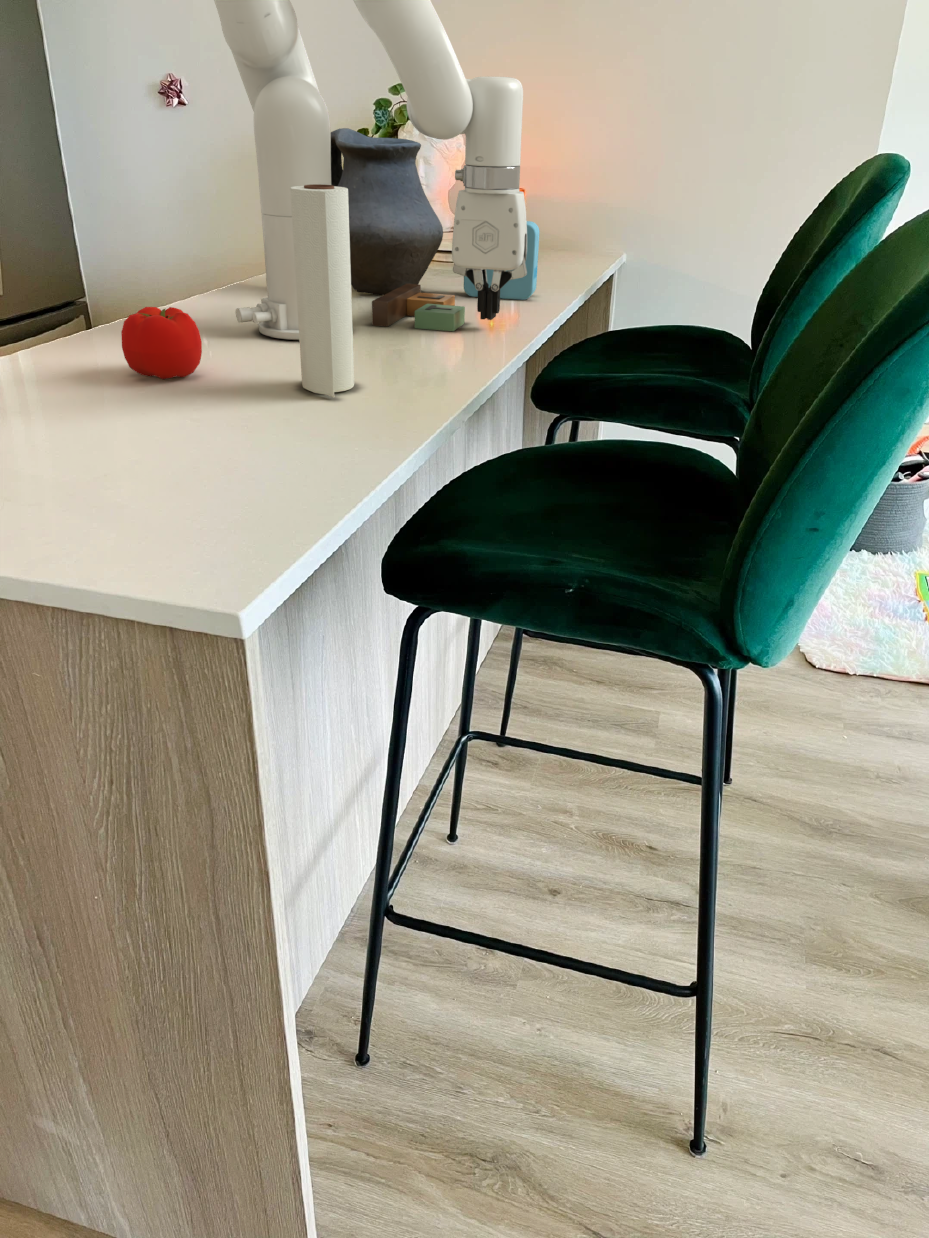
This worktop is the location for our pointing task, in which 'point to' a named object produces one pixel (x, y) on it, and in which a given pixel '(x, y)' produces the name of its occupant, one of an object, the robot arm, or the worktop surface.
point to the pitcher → (384, 211)
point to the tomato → (161, 342)
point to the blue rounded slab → (519, 286)
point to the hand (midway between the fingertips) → (488, 317)
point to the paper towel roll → (323, 287)
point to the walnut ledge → (393, 305)
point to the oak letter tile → (428, 301)
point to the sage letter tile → (439, 317)
